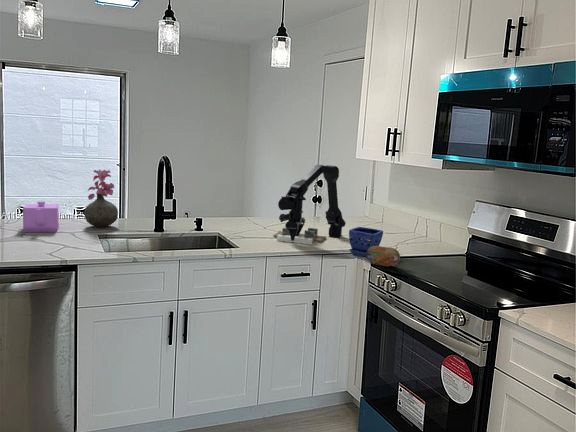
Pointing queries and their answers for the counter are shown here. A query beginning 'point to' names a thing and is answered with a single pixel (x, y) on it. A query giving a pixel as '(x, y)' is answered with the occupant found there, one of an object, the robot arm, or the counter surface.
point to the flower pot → (364, 239)
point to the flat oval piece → (383, 256)
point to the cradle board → (318, 239)
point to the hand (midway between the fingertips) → (294, 239)
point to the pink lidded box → (41, 217)
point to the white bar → (295, 239)
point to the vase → (101, 203)
